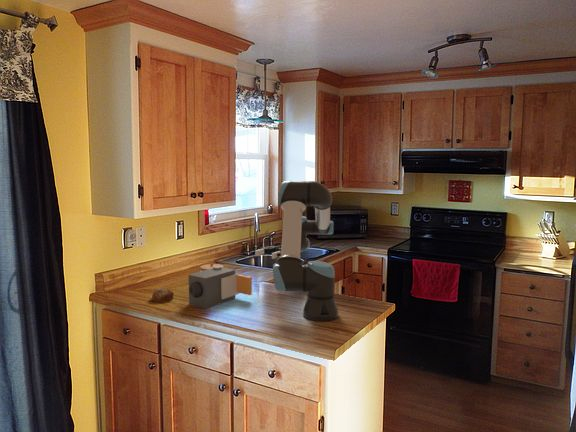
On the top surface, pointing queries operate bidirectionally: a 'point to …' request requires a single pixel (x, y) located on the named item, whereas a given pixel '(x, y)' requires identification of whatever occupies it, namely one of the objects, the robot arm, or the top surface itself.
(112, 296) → the top surface
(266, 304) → the top surface
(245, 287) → the door
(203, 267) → the lidded bowl
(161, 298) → the bread roll
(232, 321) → the top surface
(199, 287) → the box
